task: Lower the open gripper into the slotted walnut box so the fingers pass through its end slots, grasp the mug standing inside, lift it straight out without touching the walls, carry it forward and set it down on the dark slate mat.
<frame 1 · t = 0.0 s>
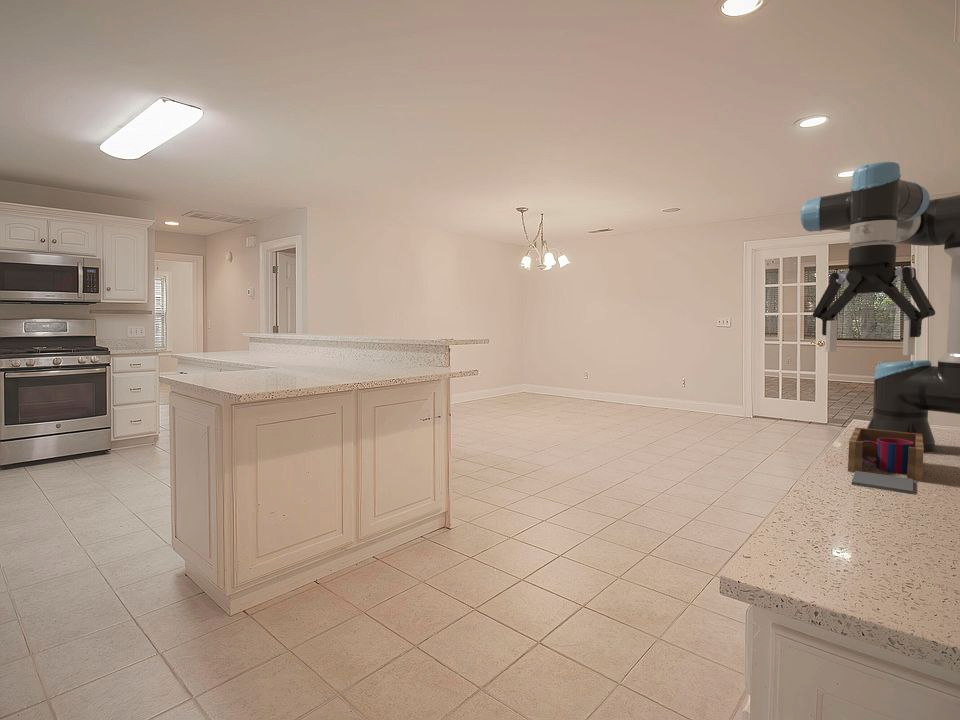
hand: (867, 353, 105), 28 cm above the counter, fingers open, 13 cm apart
mug: (884, 469, 122), resting in walnut box
walnut box: (884, 468, 122), on the counter
slate mat: (882, 483, 111), on the counter
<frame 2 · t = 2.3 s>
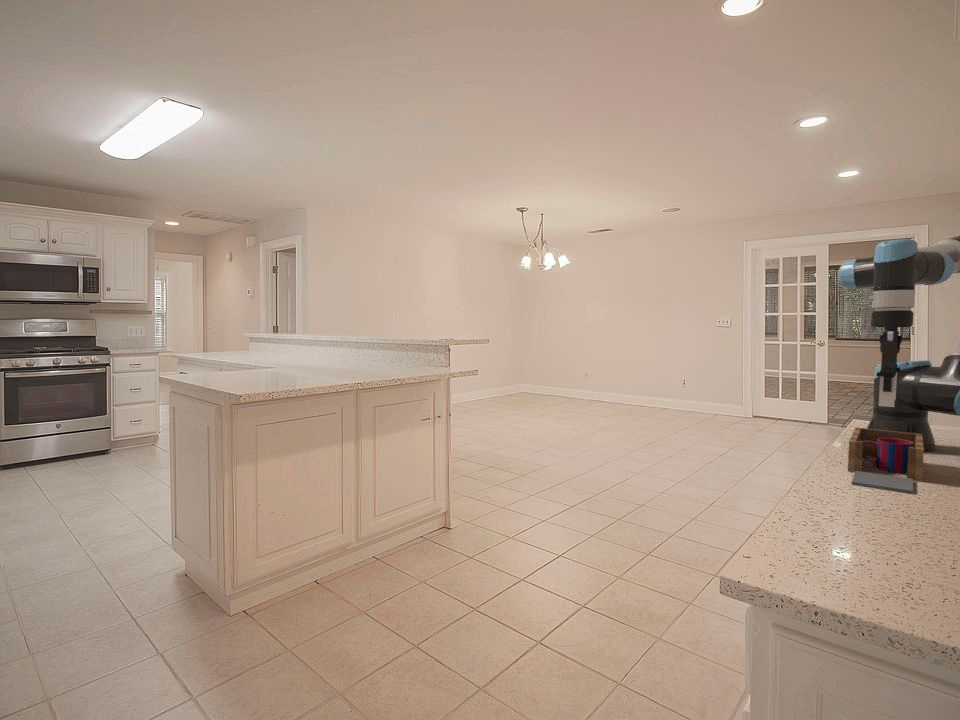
hand: (887, 402, 120), 15 cm above the counter, fingers open, 13 cm apart
nothing on the counter moved.
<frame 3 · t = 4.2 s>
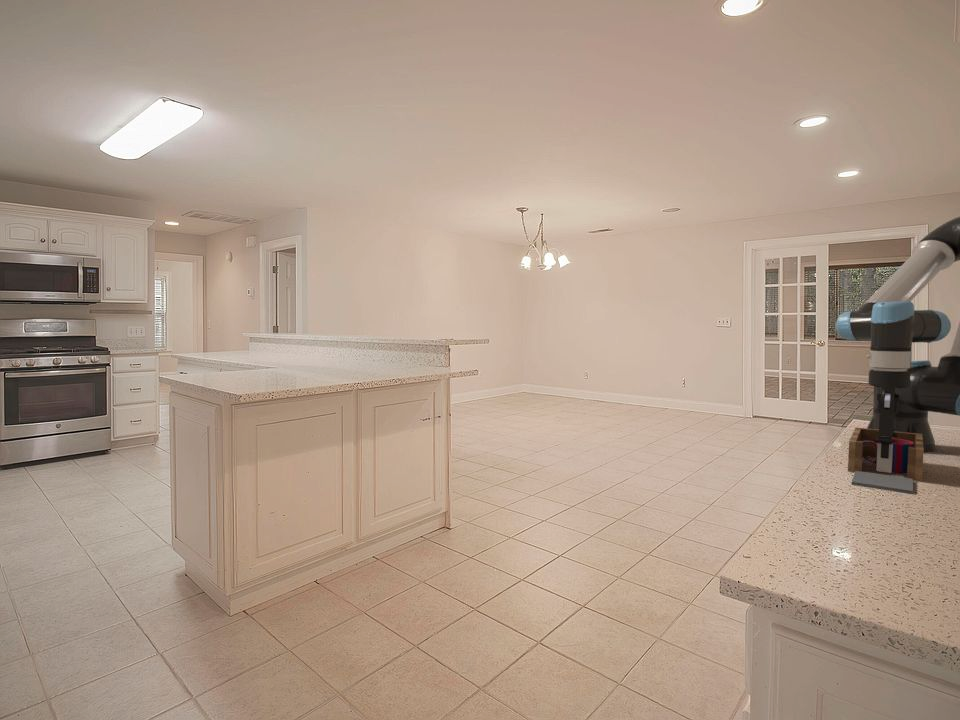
hand: (884, 467, 121), 0 cm above the counter, fingers open, 7 cm apart
mug: (884, 469, 122), resting in walnut box, touching gripper
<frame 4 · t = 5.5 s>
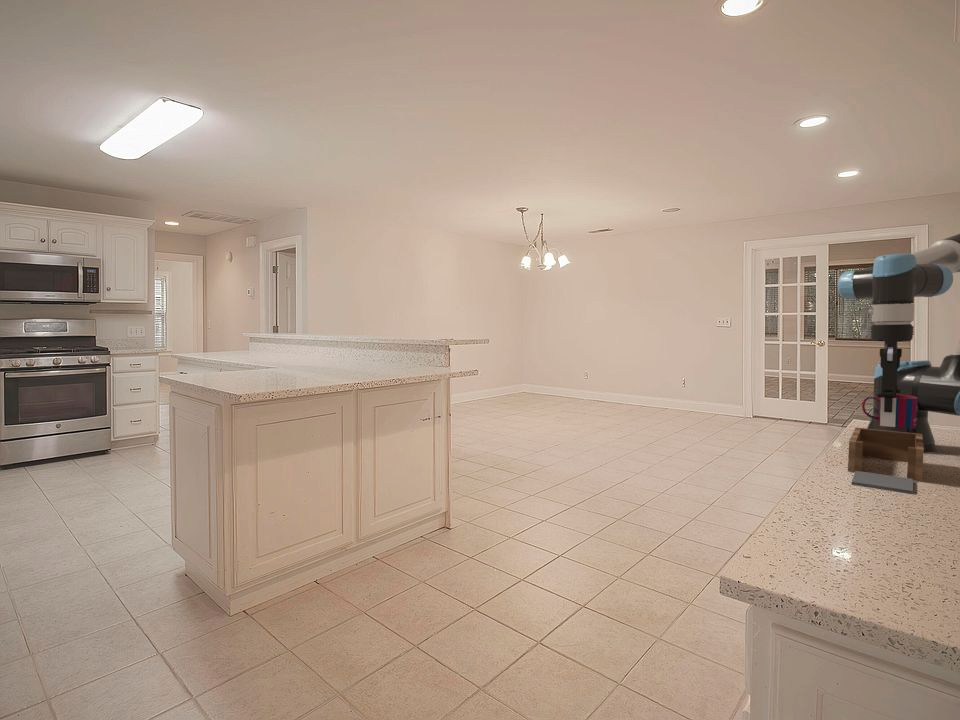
hand: (888, 423, 121), 11 cm above the counter, fingers closed on mug, 7 cm apart
mug: (887, 425, 121), point 10 cm above the counter, touching gripper
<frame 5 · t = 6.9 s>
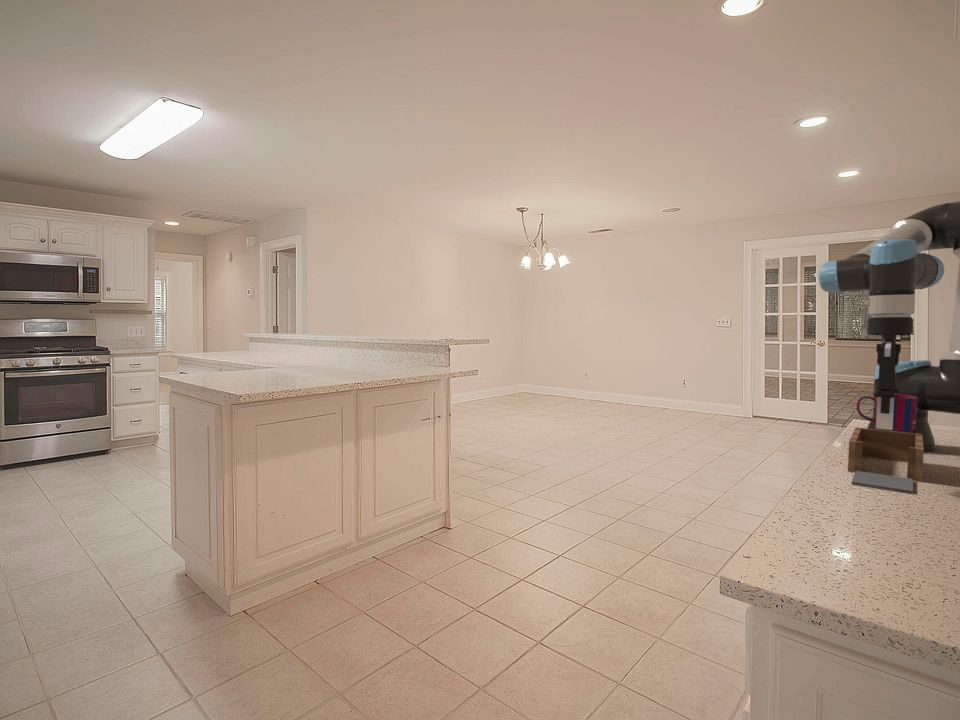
hand: (884, 425, 110), 12 cm above the counter, fingers closed on mug, 7 cm apart
mug: (884, 428, 110), point 12 cm above the counter, touching gripper
when the fingers open (2 cm above the counter, at t = 9.0 s): mug stays where it is, resting on slate mat.
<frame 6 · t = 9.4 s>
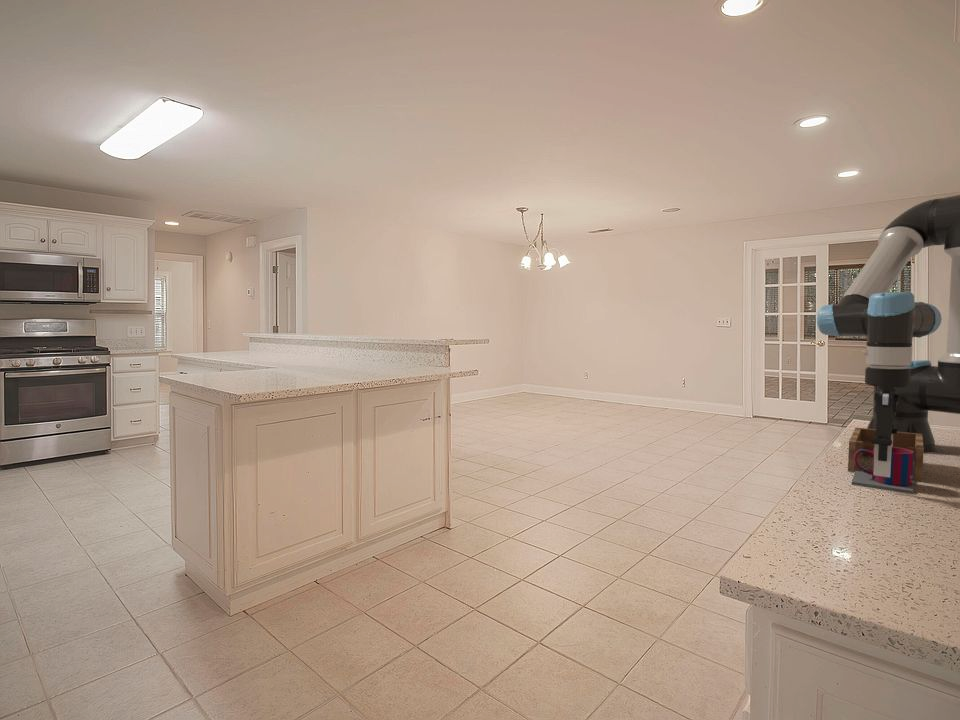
hand: (882, 469, 111), 3 cm above the counter, fingers open, 11 cm apart
mug: (882, 481, 111), resting on slate mat
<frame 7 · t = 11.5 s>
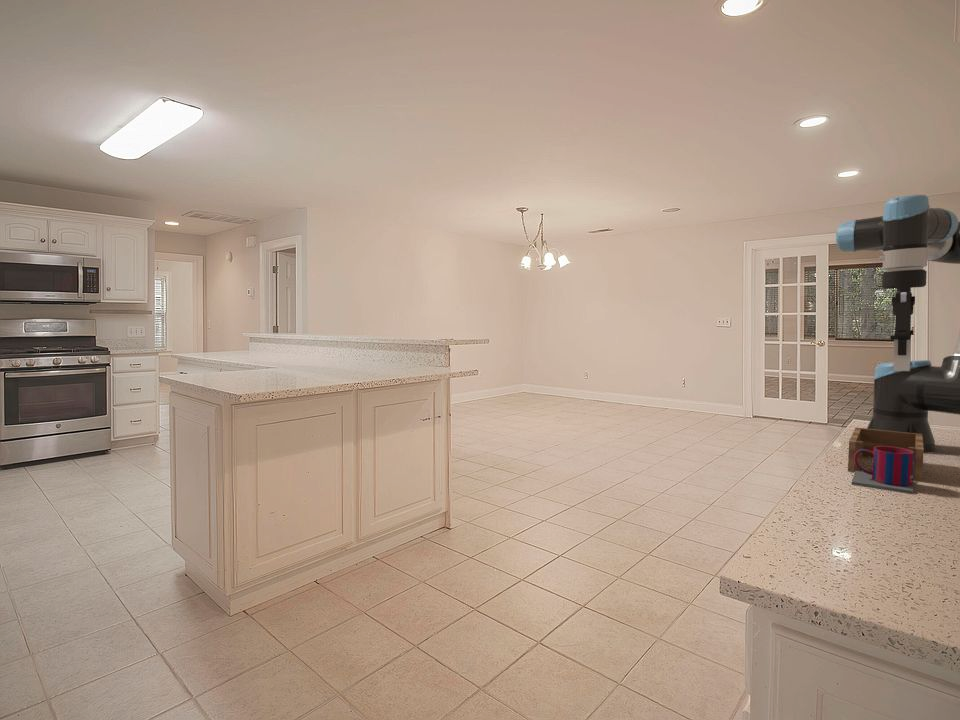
hand: (901, 367, 116), 24 cm above the counter, fingers open, 13 cm apart
nothing on the counter moved.
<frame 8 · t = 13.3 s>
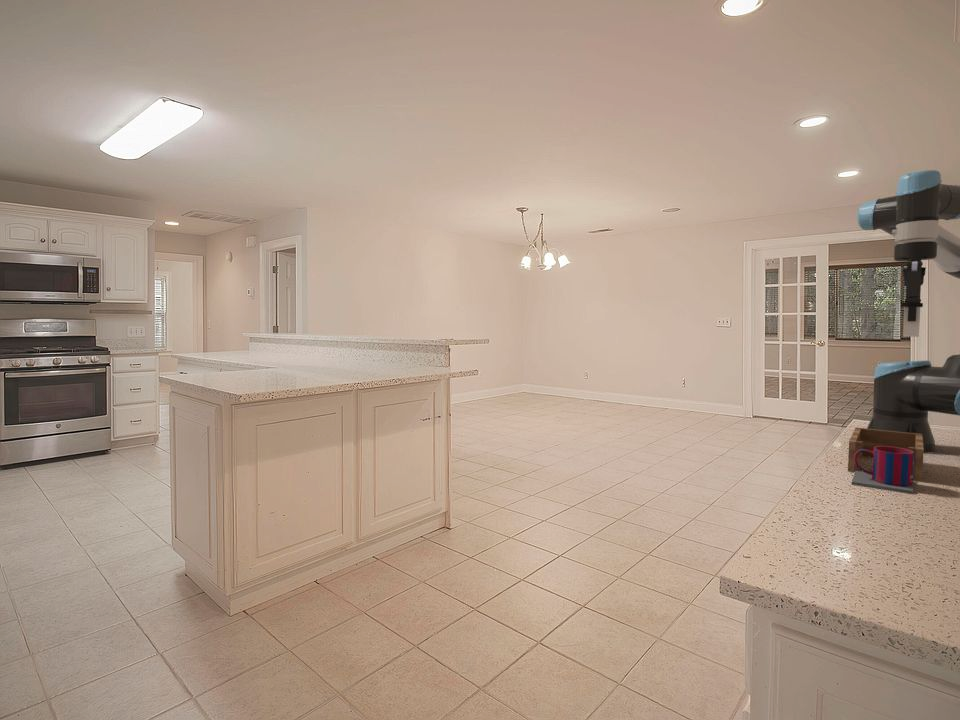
hand: (910, 335, 121), 31 cm above the counter, fingers open, 13 cm apart
nothing on the counter moved.
at the end: mug inside the target area on the slate mat (0.0 cm from its centre), point 0.4 cm above the slate mat's base; mug tilted 0°; the gripper is holding nothing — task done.
